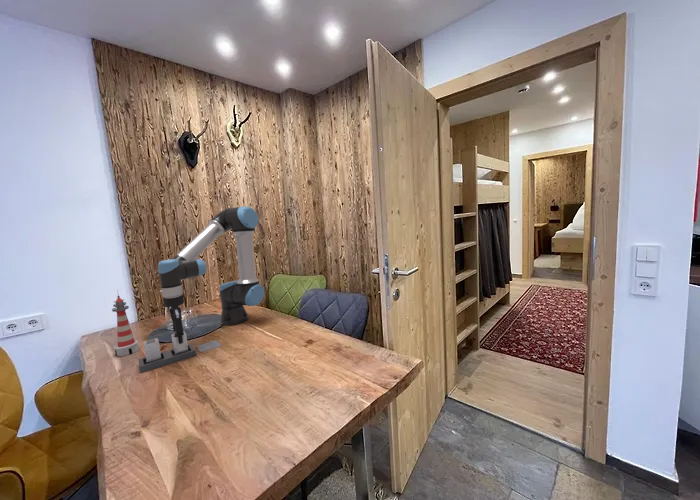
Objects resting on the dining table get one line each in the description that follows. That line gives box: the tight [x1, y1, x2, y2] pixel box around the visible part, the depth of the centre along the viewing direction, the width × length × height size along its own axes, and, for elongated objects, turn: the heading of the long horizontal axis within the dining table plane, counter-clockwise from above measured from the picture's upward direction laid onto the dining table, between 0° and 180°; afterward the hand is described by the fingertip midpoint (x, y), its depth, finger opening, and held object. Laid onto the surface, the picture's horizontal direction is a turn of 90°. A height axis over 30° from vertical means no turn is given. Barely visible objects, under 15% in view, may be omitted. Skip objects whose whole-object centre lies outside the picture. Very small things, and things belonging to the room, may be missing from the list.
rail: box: [138, 343, 197, 374], centre depth 124 cm, size 20×9×3 cm, turn 128°
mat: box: [196, 339, 223, 353], centre depth 136 cm, size 9×9×1 cm
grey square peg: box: [171, 330, 189, 356], centre depth 126 cm, size 5×5×10 cm
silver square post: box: [143, 337, 162, 364], centre depth 120 cm, size 5×5×10 cm
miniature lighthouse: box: [111, 289, 139, 357], centre depth 134 cm, size 9×9×30 cm
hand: (180, 347), depth 127 cm, fingers closed on grey square peg, 5 cm apart
